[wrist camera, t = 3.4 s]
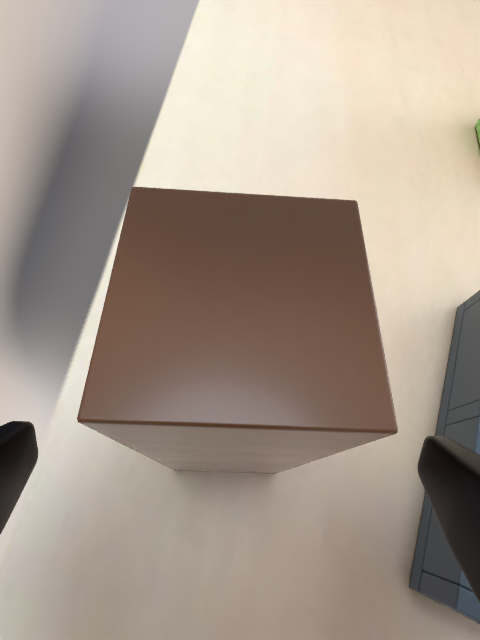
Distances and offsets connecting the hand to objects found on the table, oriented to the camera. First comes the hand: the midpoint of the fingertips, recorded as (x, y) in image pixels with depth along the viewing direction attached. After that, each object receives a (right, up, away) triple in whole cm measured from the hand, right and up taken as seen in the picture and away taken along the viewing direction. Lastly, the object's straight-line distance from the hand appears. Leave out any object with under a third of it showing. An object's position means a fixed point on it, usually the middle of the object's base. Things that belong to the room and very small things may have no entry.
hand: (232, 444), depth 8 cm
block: (0, -2, +10) cm, 10 cm away
